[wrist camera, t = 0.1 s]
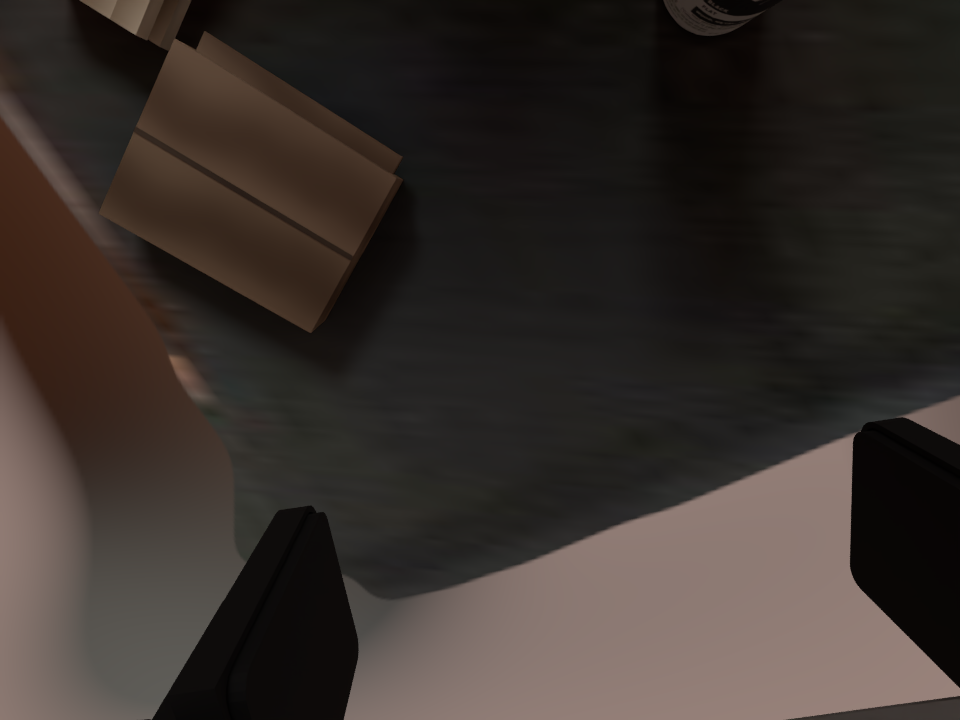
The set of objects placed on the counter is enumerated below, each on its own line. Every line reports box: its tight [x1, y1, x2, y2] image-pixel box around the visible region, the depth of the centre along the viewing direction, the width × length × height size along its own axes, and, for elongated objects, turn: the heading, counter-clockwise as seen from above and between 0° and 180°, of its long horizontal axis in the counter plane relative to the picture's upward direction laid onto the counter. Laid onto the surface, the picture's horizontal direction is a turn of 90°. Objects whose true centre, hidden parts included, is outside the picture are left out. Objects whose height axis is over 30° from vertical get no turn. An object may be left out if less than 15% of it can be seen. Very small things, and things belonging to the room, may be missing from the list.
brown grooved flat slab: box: [99, 31, 403, 333], centre depth 36 cm, size 12×14×4 cm
